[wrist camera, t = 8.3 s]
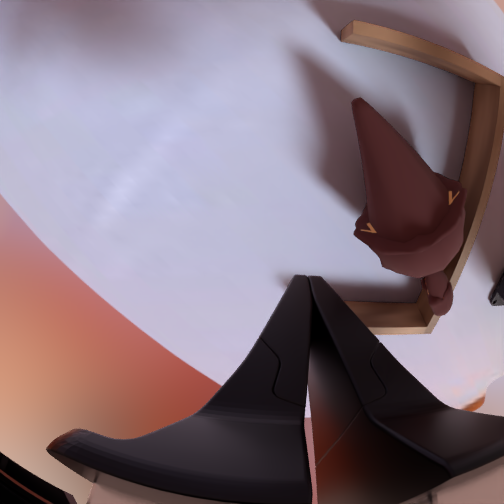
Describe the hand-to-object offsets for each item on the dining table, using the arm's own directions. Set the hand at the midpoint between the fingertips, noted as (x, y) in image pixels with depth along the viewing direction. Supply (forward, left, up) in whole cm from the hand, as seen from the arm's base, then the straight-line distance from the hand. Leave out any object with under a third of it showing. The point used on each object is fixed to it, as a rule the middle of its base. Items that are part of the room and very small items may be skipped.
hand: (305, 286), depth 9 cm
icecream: (-7, 0, -11) cm, 13 cm away
